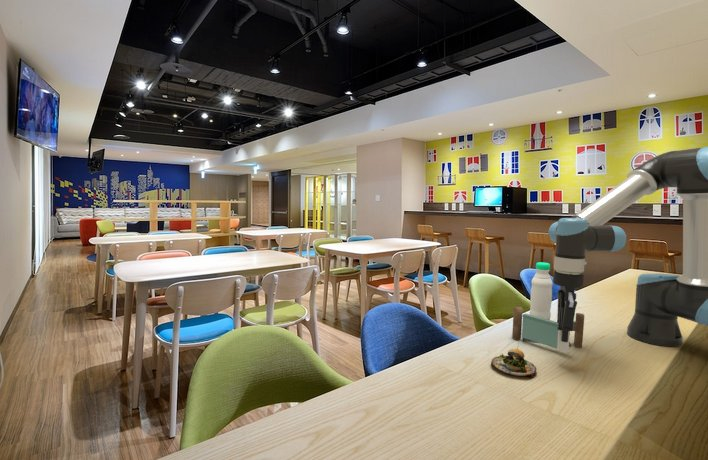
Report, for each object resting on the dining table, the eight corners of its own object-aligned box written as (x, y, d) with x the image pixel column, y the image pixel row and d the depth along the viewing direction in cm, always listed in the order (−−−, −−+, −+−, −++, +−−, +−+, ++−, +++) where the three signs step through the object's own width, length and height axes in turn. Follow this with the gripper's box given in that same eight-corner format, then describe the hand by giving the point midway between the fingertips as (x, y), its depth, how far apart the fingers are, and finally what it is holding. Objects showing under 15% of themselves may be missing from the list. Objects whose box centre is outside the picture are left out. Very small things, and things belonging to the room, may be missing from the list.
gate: (521, 337, 125) (522, 314, 124) (524, 336, 126) (525, 313, 125) (565, 351, 114) (567, 326, 113) (568, 350, 115) (569, 325, 114)
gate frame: (579, 343, 124) (581, 311, 123) (582, 348, 120) (584, 315, 119) (511, 335, 131) (513, 305, 130) (512, 339, 127) (514, 308, 126)
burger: (482, 364, 108) (483, 340, 107) (512, 358, 113) (513, 334, 112) (514, 384, 97) (516, 357, 96) (546, 376, 102) (548, 350, 101)
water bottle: (552, 332, 134) (556, 265, 131) (531, 331, 135) (535, 264, 133) (546, 326, 141) (550, 261, 138) (526, 324, 142) (530, 260, 140)
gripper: (590, 277, 98) (583, 362, 100) (577, 268, 110) (571, 344, 113) (558, 275, 101) (552, 357, 103) (550, 266, 113) (544, 341, 115)
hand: (562, 350), depth 108 cm, fingers closed
